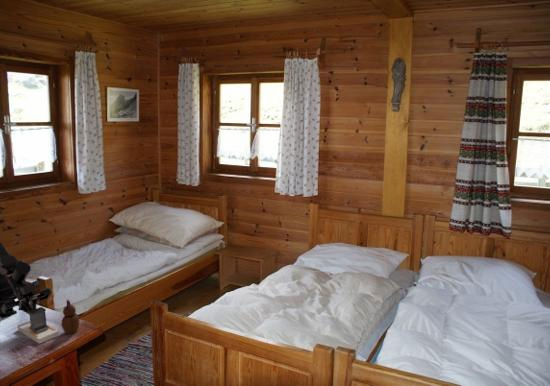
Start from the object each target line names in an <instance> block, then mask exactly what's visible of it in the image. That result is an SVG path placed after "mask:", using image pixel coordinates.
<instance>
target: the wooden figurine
mask: <svg viewBox="0 0 550 386" xmlns="http://www.w3.org/2000/svg"><path fill="white" fill-rule="evenodd" d="M76 310H77V308H76V306H74V305H73V304H71V301H70V299H67V300H66V305H65V306H64V307H63V310H62V313H63V317H62V318H61V328H62V329H63V331H64V332H65V334H73V333H75V332H77V330H78V329H79V326H80V317H79V315H78V313H77V312H76Z"/></svg>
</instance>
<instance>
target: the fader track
mask: <svg viewBox="0 0 550 386" xmlns="http://www.w3.org/2000/svg"><path fill="white" fill-rule="evenodd" d="M30 326H31V324H30V320H29V321H25V322H23V323H20V324H18V325H17V331H19V332H20V333H21V334H23V335H25V336H26V337H28V338H30V340H33V341H34V342H36V343H38V344H42V343H45V342H46V341H49V340H52V339H53V338H54V339H55V338H56V337H58V336H59V333H60V332H59V330H57V329H56V328H54V327H53V326H51V325H50V324H47V326H49V329H46V330H44V331H41V332H39V333H35V332H34V331H32V330H30V329H29V327H30Z"/></svg>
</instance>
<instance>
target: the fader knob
mask: <svg viewBox="0 0 550 386" xmlns="http://www.w3.org/2000/svg"><path fill="white" fill-rule="evenodd" d="M27 315H29V321H30V324H31V326H30V327H29V329H30V330H32V331H34V332H35V333H39V332H41V331H44V330H46V329H49V326H50V325H49V326H47V325H48V324H47V317H46V308H44V307H42V306H41V307H40V306H39V307H36V309H34V310H31V311H29V312H28V314H27Z"/></svg>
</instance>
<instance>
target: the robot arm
mask: <svg viewBox="0 0 550 386" xmlns="http://www.w3.org/2000/svg"><path fill="white" fill-rule="evenodd" d="M2 243H3V242H1V241H0V318H1V319H3V318H6V317H9V316H11V315H14V314H17V313H18V312H17V310H15V309H14V308H16V307H18V311H22V312H24V313H26V314H27V315H29V314H28V312H29V311H31V310H34V309H37V304H38V302H39V301H40V302H42V301H45V300H48V299H49V298H50V296H51V295H52V292H53V291H52V290H51V289H50V287H46V288H43V289H40V288H41V284H40V282H39V280H34V281H33V282H31V284H30V283H28V282H27V280H26V279H27V278H28V276H29V275H30V272H31V269H32V268H31V265H30V264H28V263H26V262H23V261H22V260H19V259H17V257H16V256H13V255H11V254H10V253H9V252H8V250H7V249H6V248H5V246H4V245H3V244H2ZM6 276H9V277H8V278H7V277H6ZM38 289H40V290H39V291H38ZM37 291H38V293H37V294H36V292H37Z"/></svg>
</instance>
